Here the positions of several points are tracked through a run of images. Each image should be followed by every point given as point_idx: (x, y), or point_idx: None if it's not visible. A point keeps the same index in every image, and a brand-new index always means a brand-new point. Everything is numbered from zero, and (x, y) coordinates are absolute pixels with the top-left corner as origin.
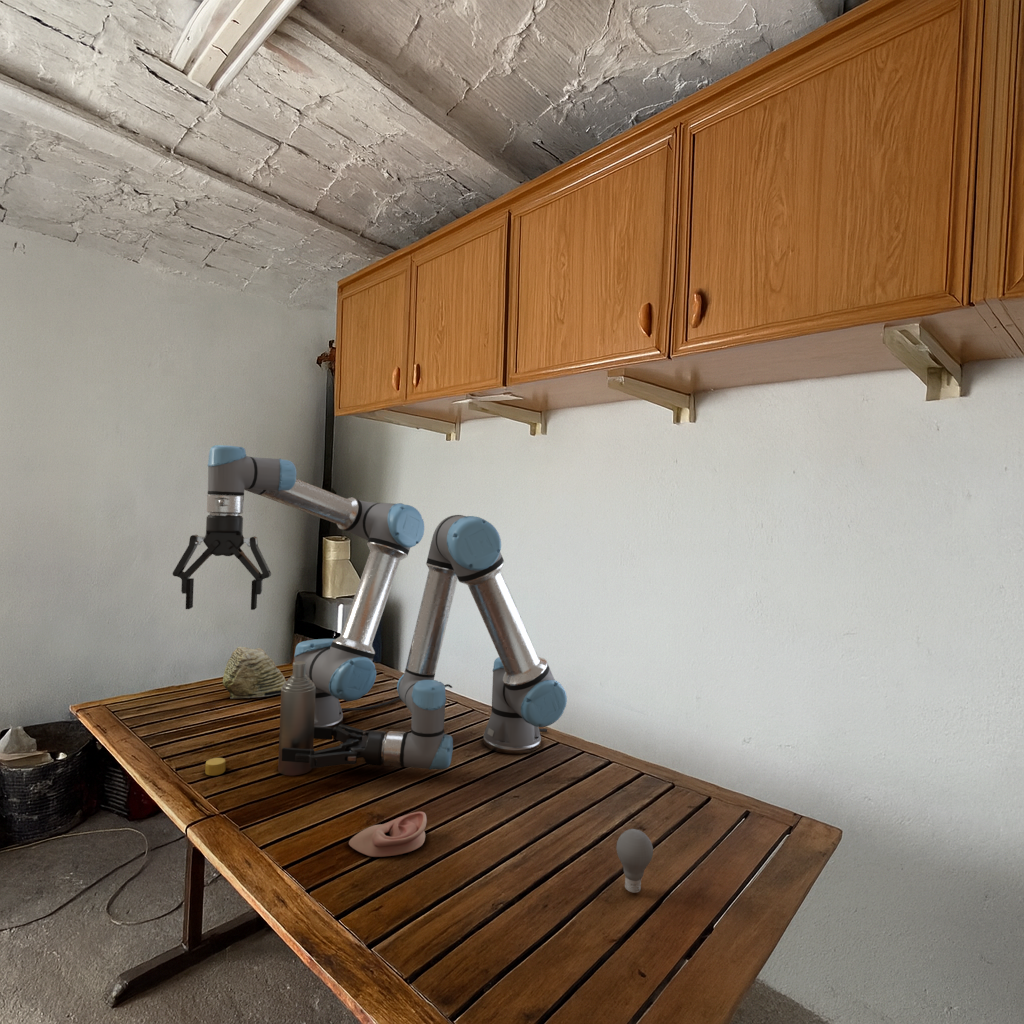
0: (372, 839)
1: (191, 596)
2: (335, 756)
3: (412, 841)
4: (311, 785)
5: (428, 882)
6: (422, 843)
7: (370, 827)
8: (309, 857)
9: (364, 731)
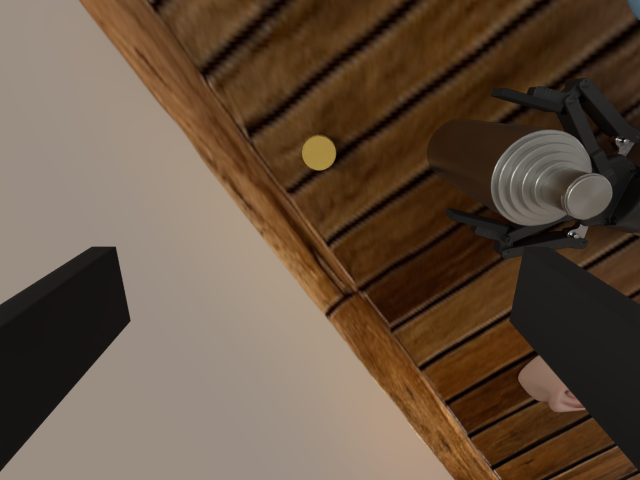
0: (548, 400)
1: (74, 330)
2: None
3: None
4: None
5: (583, 437)
6: None
7: None
8: (472, 390)
9: (629, 134)
